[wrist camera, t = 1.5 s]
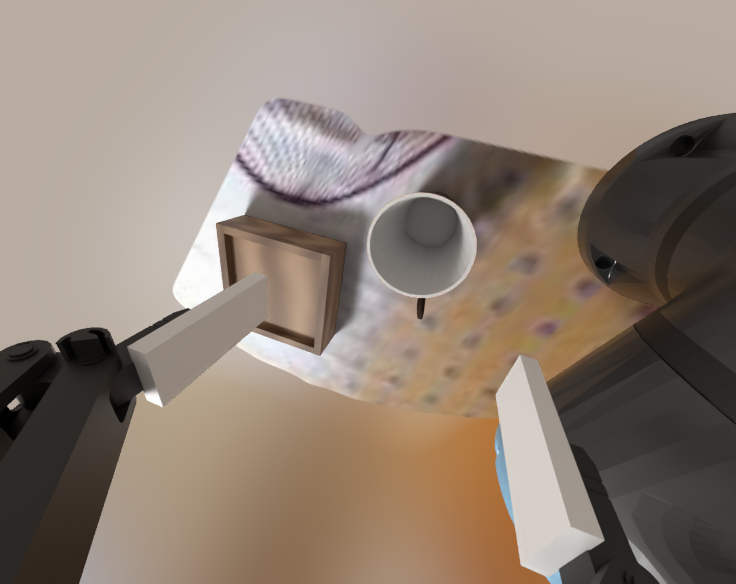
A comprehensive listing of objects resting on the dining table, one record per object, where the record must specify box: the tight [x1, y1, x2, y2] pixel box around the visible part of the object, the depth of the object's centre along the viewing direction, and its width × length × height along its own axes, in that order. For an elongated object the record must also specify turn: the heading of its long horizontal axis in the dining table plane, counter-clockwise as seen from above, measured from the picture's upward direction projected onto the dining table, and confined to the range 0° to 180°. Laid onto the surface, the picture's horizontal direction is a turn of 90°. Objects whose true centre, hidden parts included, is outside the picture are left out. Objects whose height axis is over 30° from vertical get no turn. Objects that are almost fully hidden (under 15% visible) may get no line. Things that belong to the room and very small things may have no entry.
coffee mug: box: [367, 192, 477, 319], centre depth 26 cm, size 12×9×10 cm
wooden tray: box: [216, 215, 347, 356], centre depth 37 cm, size 15×15×5 cm
